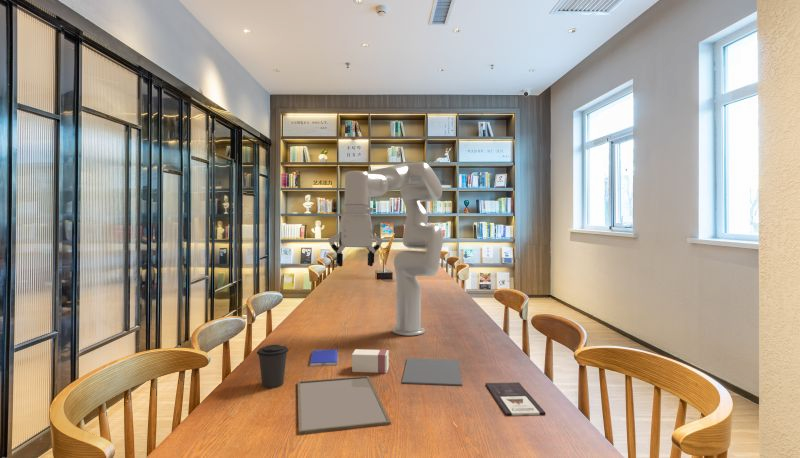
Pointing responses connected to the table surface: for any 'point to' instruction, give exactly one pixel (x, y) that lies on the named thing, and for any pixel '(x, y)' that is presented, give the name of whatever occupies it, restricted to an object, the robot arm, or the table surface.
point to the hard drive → (324, 357)
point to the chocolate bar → (514, 399)
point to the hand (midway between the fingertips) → (355, 266)
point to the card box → (370, 361)
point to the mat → (432, 372)
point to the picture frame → (339, 405)
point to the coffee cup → (272, 365)
